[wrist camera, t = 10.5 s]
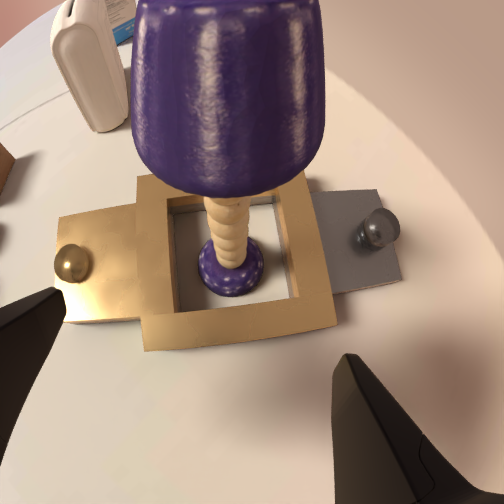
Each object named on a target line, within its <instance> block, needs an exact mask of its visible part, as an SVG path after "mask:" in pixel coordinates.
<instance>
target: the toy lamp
mask: <svg viewBox="0 0 504 504" xmlns="http://www.w3.org/2000/svg"><path fill="white" fill-rule="evenodd" d="M131 127H132V136H133V139H134V143H135V146H136V149H137V152H138V154H139V156H140V158H141V160H142V161H143V163H144V164H145V165H146V166H147V168H148V169H149V170H150V171H151V172H152V173H153V174H154V175H155V176H156V177H157V178H158V179H160V180H162V181H163V182H164V183H165V184H167V185H169V186H171V187H173V188H175V189H178V190H181V191H183V192H185V193H190V194H195V195H200V196H203V197H204V205H205V208H206V211H207V221H208V225H209V227H210V229H211V237H212V238H211V239H210V240H209V241H208V242H207V243H206V244H205V245H204V247H203V248H202V250H201V252H200V255H199V259H198V270H199V274H200V277H201V279H202V281H203V283H204V284H205V285H206V286H207V288H208V289H210V290H211V291H212V292H214V293H216V294H218V295H220V296H225V297H236V296H239V295H243V294H245V293H247V292H249V291H251V290H252V289H253V288H254V287H255V286H256V285H257V283H258V282H259V280H260V278H261V276H262V273H263V268H264V262H263V256H262V253H261V251H260V249H259V247H258V246H257V244H256V243H255V242H254V241H253V240H252V239H251V238H249V237H248V223H249V207H250V202H251V196H254V195H258V194H261V193H263V192H266V191H269V190H272V189H275V188H277V187H279V186H281V185H283V184H285V183H287V182H289V181H291V180H292V179H293V178H294V177H296V176H297V175H298V174H299V173H300V172H302V171H303V170H304V169H305V168H306V167H307V166H308V165H309V163H310V162H311V161H312V160H313V158H314V157H315V155H316V153H317V151H318V149H319V147H320V144H321V141H322V138H323V133H324V127H325V67H324V45H323V29H322V19H321V10H320V5H319V1H318V0H139V1H138V5H137V10H136V15H135V23H134V33H133V45H132V59H131Z"/></svg>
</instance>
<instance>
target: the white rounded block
mask: <svg viewBox="0 0 504 504" xmlns="http://www.w3.org/2000/svg"><path fill="white" fill-rule="evenodd" d="M50 45H51V51H52V54H53V57H54V59H55V61H56V63H57V66H58V68H59V70H60V72H61V74H62V76H63V78H64V80H65V82H66V84H67V86H68V88H69V90H70V92H71V94H72V96H73V98H74V100H75V102H76V104H77V106H78V108H79V110H80V111H81V113H82V115H83V117H84V119H85V120H86V122H87V124H88V126H89V127H90V129H91V130H92V131H98V132H106V131H109V130H112V129H114V128H116V127H118V126H119V125H121V124H122V123H123V122H124V119H126V118H127V117H128V97H127V88H126V81H125V74H124V69H123V65H122V62H121V59H120V55H119V52H118V49H117V45H116V42H115V38H114V35H113V31H112V28H111V24H110V20H109V16H108V12H107V6H106V4H105V1H104V0H66V1H65V2H64V4H63V5H62V6H61V8H60V9H59V11H58V13H57V15H56V17H55V20H54V23H53V26H52V31H51V37H50Z"/></svg>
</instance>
